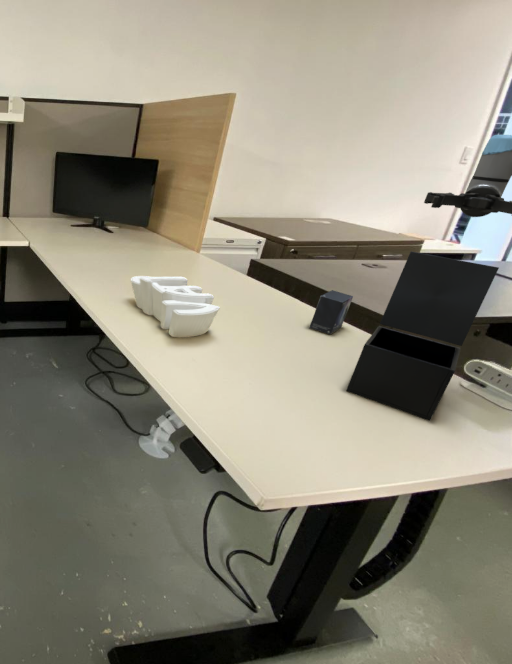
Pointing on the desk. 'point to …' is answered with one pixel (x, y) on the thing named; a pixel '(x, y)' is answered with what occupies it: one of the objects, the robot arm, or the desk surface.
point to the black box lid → (438, 297)
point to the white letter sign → (175, 304)
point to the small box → (330, 312)
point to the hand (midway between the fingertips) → (476, 206)
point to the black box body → (404, 371)
